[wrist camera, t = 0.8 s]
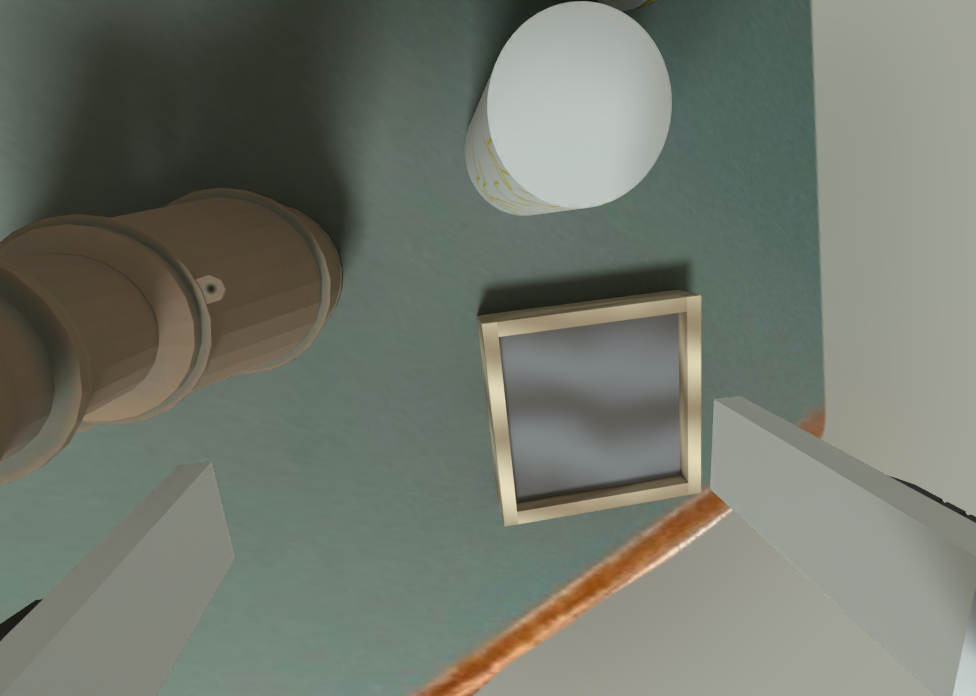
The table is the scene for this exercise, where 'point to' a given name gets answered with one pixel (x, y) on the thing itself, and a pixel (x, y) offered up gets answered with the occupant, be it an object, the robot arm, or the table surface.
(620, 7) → the alarm clock
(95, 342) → the binoculars
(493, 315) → the square picture frame
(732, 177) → the table surface
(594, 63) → the white cylinder
